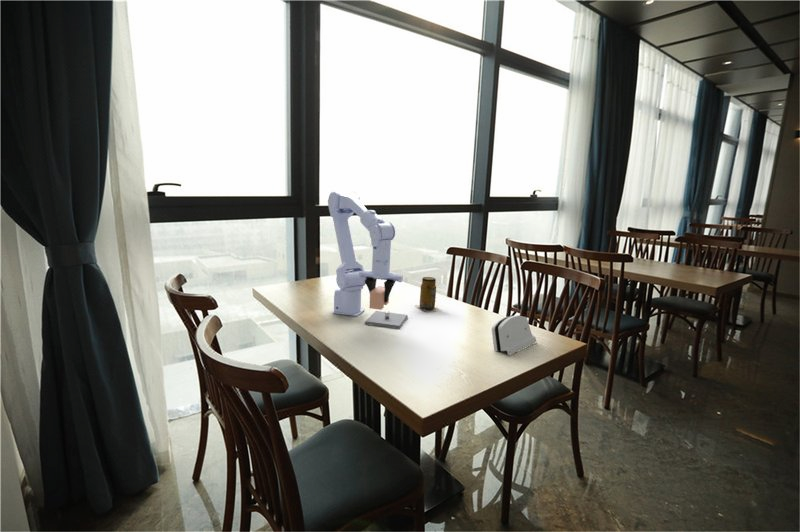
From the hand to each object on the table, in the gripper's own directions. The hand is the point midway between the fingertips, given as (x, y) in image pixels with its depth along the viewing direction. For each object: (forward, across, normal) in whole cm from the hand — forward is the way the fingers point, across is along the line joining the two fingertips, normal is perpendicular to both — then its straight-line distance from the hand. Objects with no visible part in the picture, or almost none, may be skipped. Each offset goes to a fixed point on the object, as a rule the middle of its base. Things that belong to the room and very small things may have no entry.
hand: (379, 300), depth 126 cm
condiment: (+9, +12, +26) cm, 30 cm away
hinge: (+9, +43, 0) cm, 44 cm away
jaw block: (+2, 0, 0) cm, 2 cm away
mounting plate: (+9, +1, +6) cm, 11 cm away
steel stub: (+9, +1, +6) cm, 11 cm away
